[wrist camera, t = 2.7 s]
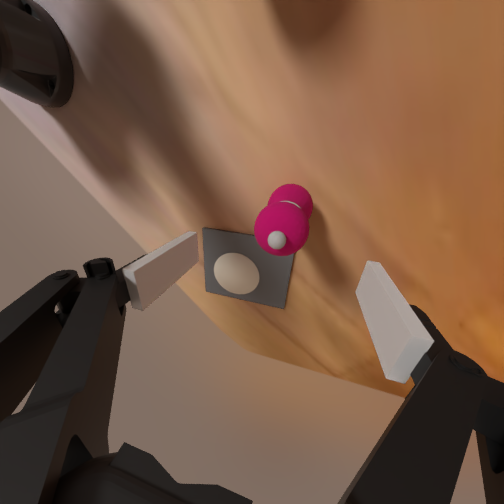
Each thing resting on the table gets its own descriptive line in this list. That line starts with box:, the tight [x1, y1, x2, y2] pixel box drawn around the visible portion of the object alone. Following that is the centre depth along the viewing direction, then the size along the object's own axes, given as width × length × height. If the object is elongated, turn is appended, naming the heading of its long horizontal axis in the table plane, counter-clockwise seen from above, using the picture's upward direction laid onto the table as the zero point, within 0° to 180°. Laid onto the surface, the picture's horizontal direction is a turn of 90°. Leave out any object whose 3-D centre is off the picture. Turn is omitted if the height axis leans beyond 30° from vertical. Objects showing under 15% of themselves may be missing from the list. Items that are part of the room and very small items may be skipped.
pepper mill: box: [254, 184, 313, 256], centre depth 26 cm, size 7×7×20 cm
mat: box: [202, 228, 294, 309], centre depth 44 cm, size 20×17×1 cm
